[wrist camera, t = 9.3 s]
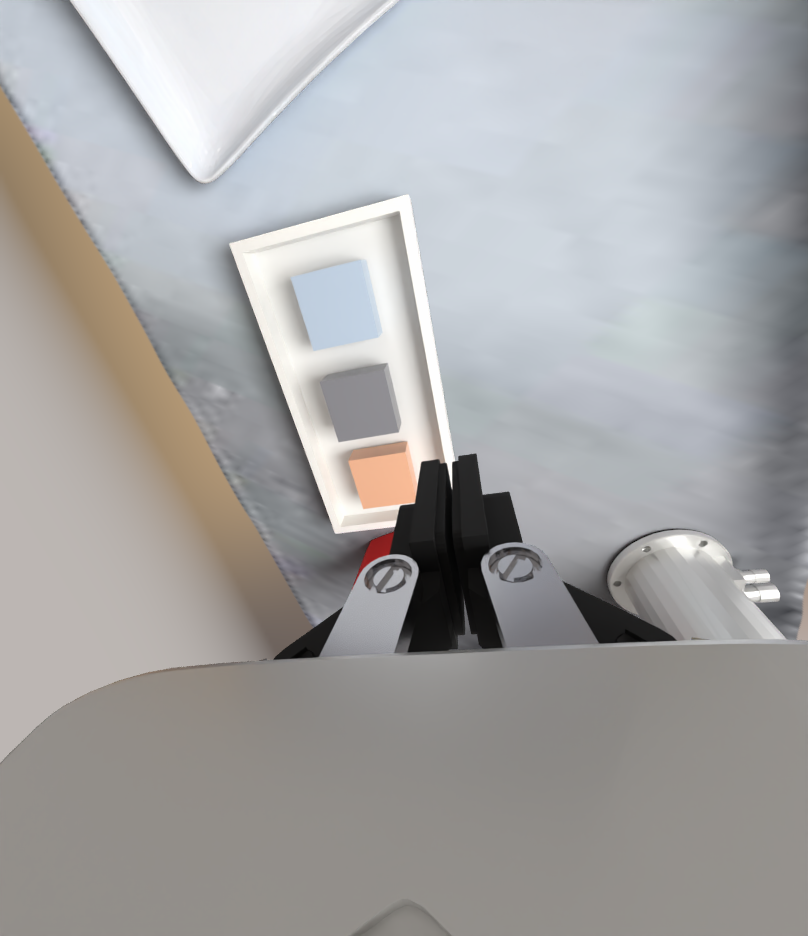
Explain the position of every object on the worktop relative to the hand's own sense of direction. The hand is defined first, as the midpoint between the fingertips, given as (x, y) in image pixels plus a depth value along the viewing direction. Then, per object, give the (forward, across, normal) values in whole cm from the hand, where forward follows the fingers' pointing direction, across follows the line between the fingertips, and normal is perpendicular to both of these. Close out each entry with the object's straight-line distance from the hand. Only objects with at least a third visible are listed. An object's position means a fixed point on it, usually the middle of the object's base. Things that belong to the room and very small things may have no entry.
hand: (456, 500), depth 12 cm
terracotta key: (+24, +8, +10) cm, 28 cm away
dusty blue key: (+24, +8, -6) cm, 26 cm away
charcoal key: (+23, +8, +2) cm, 25 cm away
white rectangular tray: (+25, +8, +2) cm, 27 cm away
